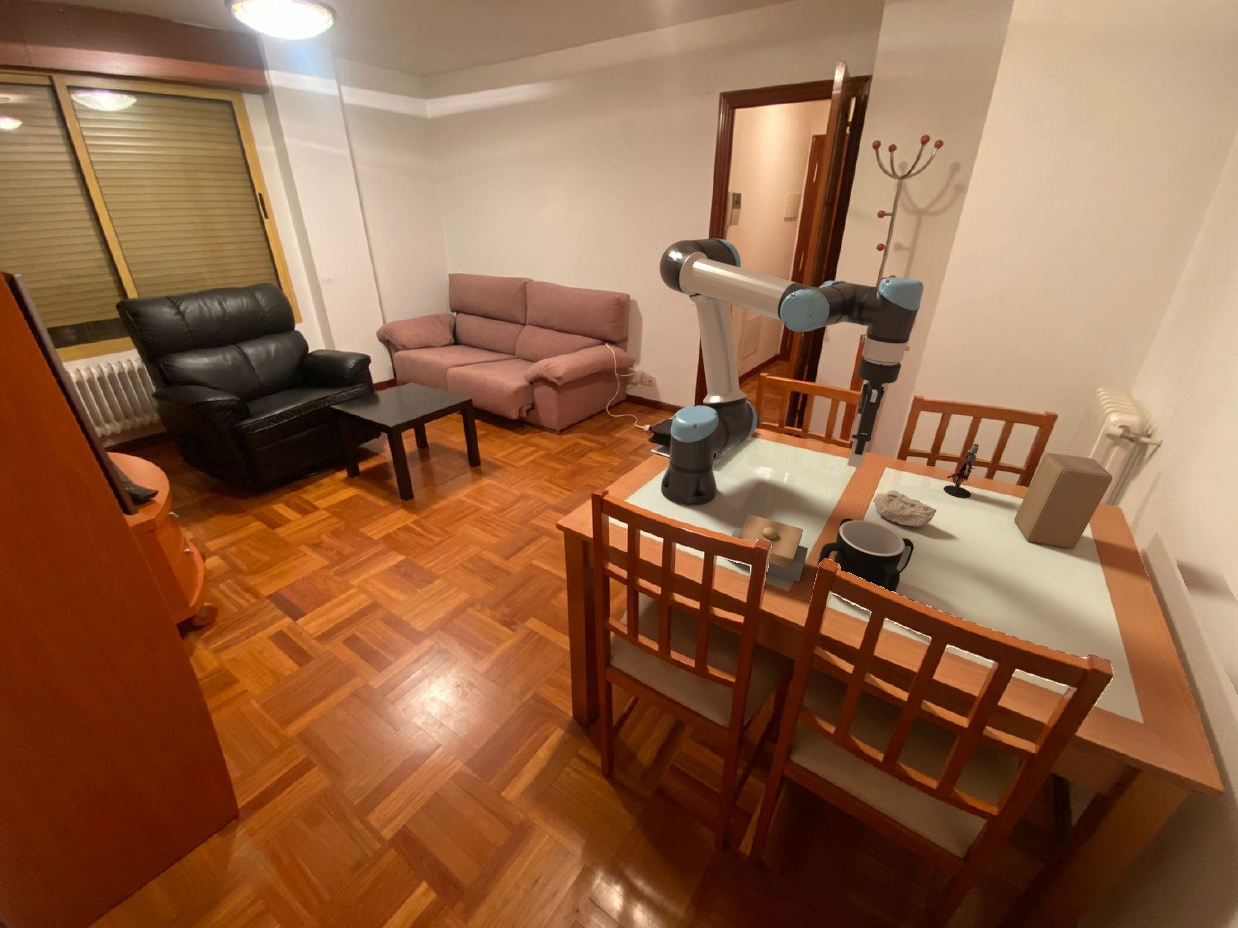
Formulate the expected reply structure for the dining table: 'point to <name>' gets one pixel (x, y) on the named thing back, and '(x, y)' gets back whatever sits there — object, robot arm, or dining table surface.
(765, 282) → the robot arm
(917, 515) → the stone
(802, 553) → the riser
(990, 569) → the dining table surface
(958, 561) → the dining table surface
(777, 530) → the lid
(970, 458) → the figurine
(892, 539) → the mug
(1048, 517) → the wooden block
